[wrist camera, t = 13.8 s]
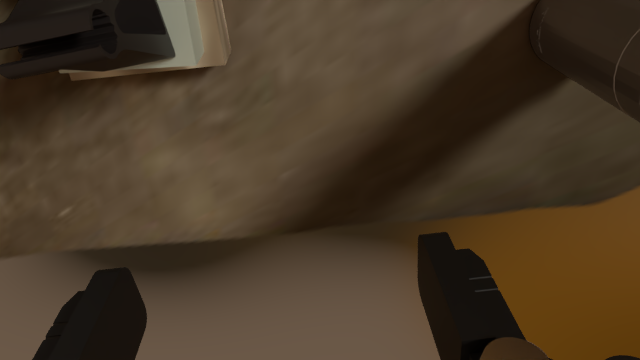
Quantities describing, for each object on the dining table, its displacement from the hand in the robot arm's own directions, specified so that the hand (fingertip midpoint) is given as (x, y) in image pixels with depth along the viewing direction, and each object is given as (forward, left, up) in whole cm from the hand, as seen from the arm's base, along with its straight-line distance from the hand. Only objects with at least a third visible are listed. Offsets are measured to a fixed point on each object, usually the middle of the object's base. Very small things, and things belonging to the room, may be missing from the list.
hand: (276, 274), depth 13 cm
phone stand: (+12, -4, -28) cm, 31 cm away
